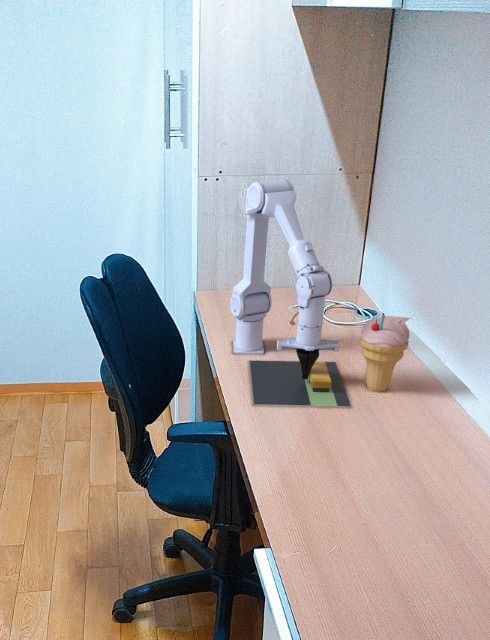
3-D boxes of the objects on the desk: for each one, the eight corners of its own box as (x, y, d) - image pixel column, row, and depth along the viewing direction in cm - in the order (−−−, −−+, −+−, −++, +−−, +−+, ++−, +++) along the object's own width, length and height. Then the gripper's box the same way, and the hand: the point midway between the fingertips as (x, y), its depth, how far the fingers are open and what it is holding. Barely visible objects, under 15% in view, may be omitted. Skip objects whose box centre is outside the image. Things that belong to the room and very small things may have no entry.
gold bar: (306, 372, 183) (307, 361, 181) (324, 372, 183) (325, 362, 181) (311, 392, 172) (312, 381, 171) (330, 393, 172) (331, 382, 171)
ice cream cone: (401, 399, 170) (415, 316, 160) (353, 395, 172) (364, 312, 161) (399, 380, 179) (412, 301, 169) (353, 377, 181) (364, 297, 171)
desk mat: (249, 361, 189) (249, 360, 189) (334, 363, 189) (334, 362, 188) (254, 405, 167) (254, 404, 167) (350, 407, 166) (350, 406, 166)
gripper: (280, 329, 167) (275, 383, 174) (343, 330, 166) (337, 385, 173) (277, 318, 173) (273, 372, 180) (339, 319, 172) (333, 373, 179)
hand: (304, 377), depth 177 cm, fingers closed
